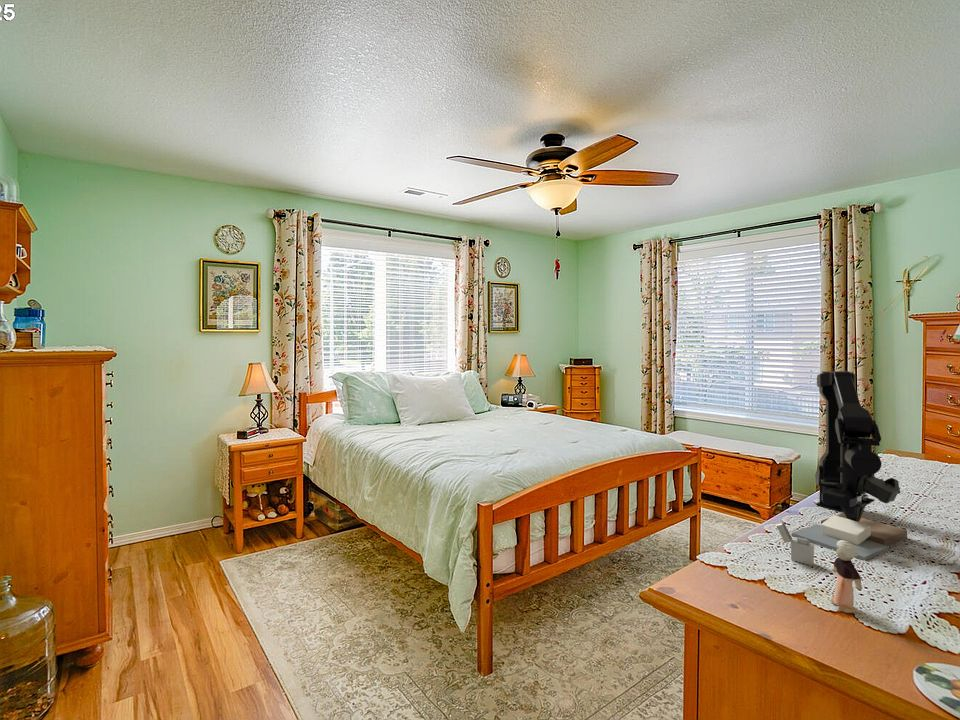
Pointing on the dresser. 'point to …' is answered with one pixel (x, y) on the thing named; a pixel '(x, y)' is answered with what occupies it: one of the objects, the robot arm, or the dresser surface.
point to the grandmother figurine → (845, 577)
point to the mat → (815, 536)
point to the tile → (846, 529)
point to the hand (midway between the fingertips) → (854, 526)
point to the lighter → (797, 546)
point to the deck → (881, 532)
